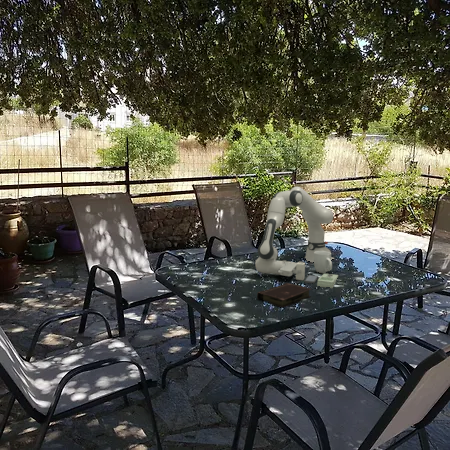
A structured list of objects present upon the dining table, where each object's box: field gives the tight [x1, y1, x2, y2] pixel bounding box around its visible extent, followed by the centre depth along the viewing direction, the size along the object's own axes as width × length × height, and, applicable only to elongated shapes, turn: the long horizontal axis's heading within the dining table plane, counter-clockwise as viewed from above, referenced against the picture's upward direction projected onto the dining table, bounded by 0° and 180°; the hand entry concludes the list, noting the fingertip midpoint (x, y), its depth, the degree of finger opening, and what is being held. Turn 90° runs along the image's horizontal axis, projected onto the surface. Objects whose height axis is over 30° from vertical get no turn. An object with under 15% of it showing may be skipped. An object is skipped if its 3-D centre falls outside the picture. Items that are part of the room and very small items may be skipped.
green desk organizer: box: [316, 273, 339, 289], centre depth 270 cm, size 22×9×4 cm, turn 158°
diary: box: [256, 282, 312, 308], centre depth 241 cm, size 19×25×5 cm
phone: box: [303, 274, 319, 285], centre depth 273 cm, size 13×6×1 cm, turn 158°
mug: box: [313, 251, 333, 274], centre depth 289 cm, size 15×11×13 cm
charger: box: [295, 260, 306, 281], centre depth 275 cm, size 4×4×11 cm
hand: (301, 270), depth 275 cm, fingers closed on charger, 4 cm apart
